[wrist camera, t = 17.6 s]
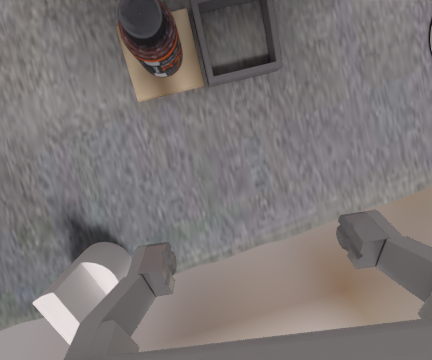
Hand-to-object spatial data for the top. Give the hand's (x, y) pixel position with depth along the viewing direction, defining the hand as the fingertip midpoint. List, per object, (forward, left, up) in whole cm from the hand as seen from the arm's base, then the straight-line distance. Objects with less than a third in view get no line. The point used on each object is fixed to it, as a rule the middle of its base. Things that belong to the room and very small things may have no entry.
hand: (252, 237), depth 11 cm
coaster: (+4, -17, -26) cm, 31 cm away
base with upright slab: (+23, +13, -26) cm, 37 cm away
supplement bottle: (+4, -17, -25) cm, 30 cm away
